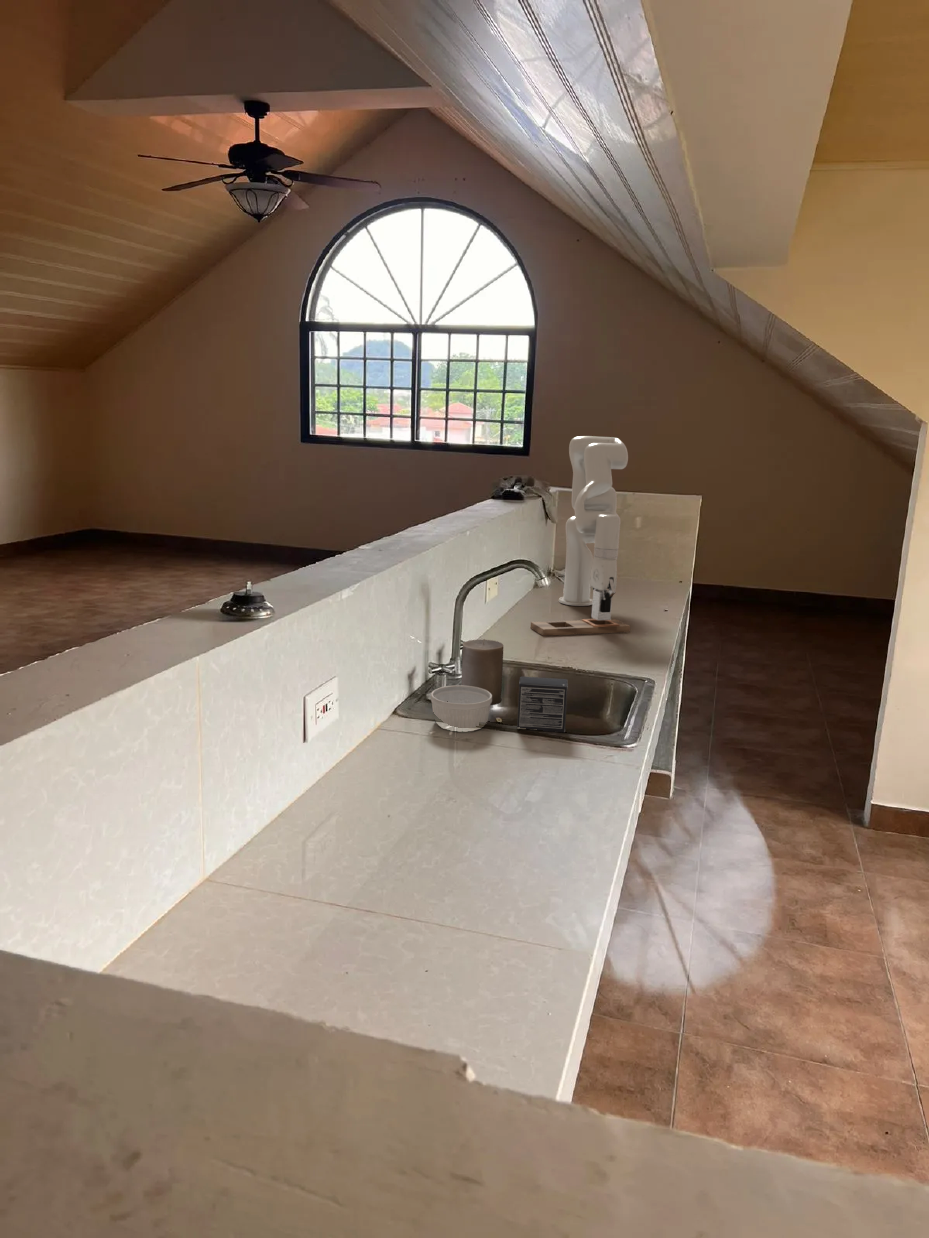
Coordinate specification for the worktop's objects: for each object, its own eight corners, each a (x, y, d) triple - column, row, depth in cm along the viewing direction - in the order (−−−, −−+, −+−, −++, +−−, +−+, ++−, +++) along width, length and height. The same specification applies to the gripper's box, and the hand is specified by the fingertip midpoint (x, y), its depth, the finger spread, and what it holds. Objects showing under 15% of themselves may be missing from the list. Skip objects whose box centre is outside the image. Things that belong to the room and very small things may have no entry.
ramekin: (437, 736, 189) (439, 705, 188) (423, 716, 202) (424, 686, 200) (498, 733, 193) (499, 702, 191) (480, 713, 205) (482, 683, 204)
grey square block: (591, 617, 290) (593, 589, 288) (604, 616, 292) (606, 589, 290) (597, 620, 286) (599, 592, 284) (610, 620, 288) (612, 592, 286)
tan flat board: (530, 628, 288) (530, 620, 287) (615, 624, 297) (615, 617, 296) (542, 635, 278) (543, 628, 278) (629, 632, 288) (630, 624, 287)
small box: (565, 723, 201) (568, 677, 198) (565, 733, 194) (568, 686, 192) (517, 719, 202) (520, 674, 199) (516, 729, 195) (518, 683, 193)
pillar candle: (508, 698, 216) (511, 637, 213) (488, 709, 208) (491, 645, 204) (473, 691, 221) (475, 631, 217) (452, 701, 212) (454, 639, 209)
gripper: (583, 549, 291) (579, 605, 295) (607, 557, 275) (603, 616, 279) (604, 549, 293) (600, 604, 297) (629, 557, 278) (624, 615, 282)
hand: (601, 609), depth 288 cm, fingers closed on grey square block, 4 cm apart
